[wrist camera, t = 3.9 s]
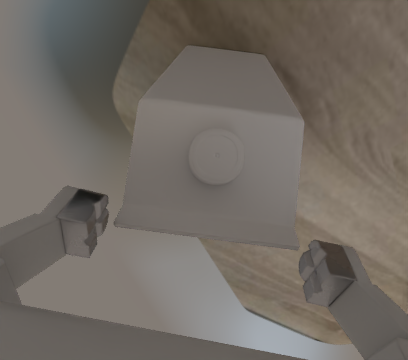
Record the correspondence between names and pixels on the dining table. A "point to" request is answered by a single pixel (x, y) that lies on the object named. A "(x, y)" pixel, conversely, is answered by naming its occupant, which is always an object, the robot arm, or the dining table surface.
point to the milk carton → (216, 152)
